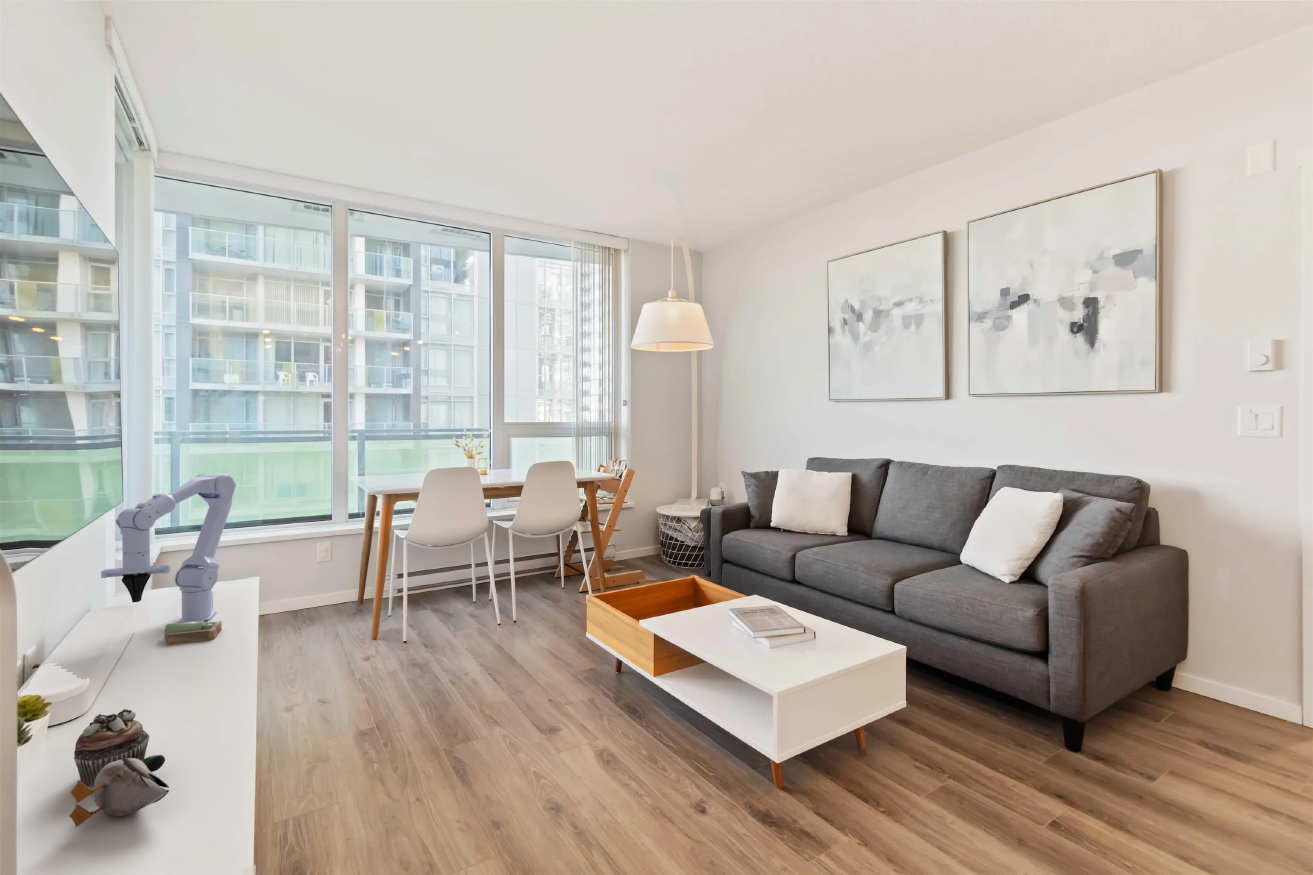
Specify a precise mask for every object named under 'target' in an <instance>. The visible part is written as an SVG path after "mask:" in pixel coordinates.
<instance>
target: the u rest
mask: <svg viewBox="0 0 1313 875" xmlns="http://www.w3.org/2000/svg"><path fill="white" fill-rule="evenodd" d="M204 624H214V625H213V626H212V628H211V629H207V630H198V631H189V632H179V633H170V634H168V641H167V645H173V644H181V643H191V642H199V641H200V642H201V641H206V640H207V641H208V640H209V641H210V640H215V639H216V637H217V636H218V635H219V634H220V633H221V631H222V628H223V626H222V625H223V624H222V620H221V621H209V622H204Z"/></svg>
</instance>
